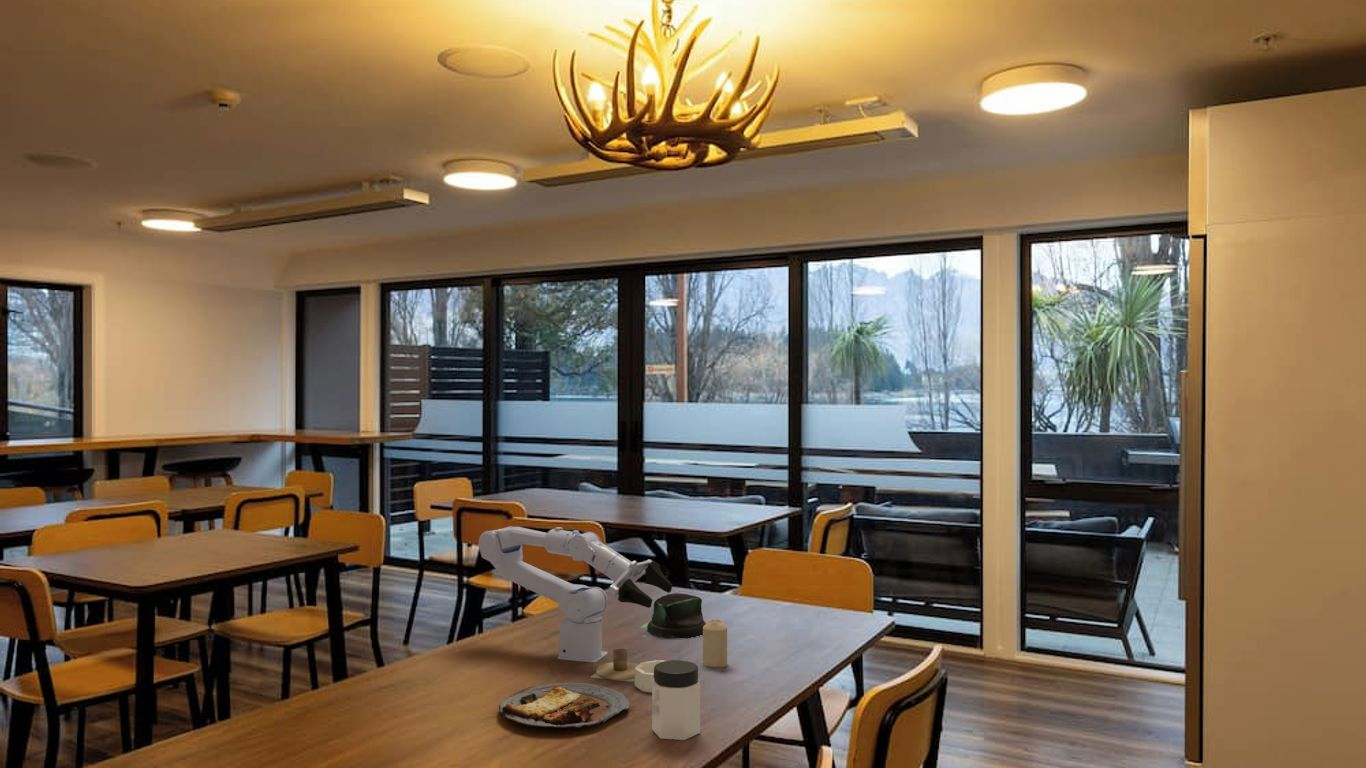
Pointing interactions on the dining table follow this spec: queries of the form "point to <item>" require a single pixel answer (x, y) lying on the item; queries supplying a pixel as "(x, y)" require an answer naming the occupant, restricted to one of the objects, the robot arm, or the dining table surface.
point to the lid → (617, 667)
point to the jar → (676, 700)
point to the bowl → (645, 675)
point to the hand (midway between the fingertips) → (661, 596)
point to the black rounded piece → (676, 617)
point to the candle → (715, 644)
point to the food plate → (561, 705)
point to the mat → (619, 680)
